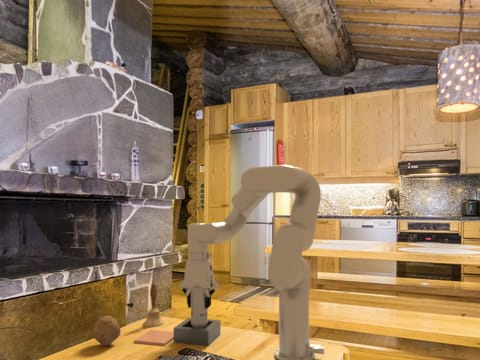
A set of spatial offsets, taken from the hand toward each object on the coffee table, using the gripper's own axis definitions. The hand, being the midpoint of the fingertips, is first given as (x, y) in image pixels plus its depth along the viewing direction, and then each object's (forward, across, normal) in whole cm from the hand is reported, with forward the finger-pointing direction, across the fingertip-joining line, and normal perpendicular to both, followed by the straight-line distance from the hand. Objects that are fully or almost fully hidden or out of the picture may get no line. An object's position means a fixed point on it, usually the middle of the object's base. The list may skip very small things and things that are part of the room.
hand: (199, 306), depth 140 cm
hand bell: (+11, +25, -12) cm, 30 cm away
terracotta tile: (+11, +15, +4) cm, 19 cm away
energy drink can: (+7, 0, 0) cm, 7 cm away
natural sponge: (+11, +29, +15) cm, 34 cm away
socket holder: (+11, +1, 0) cm, 11 cm away
